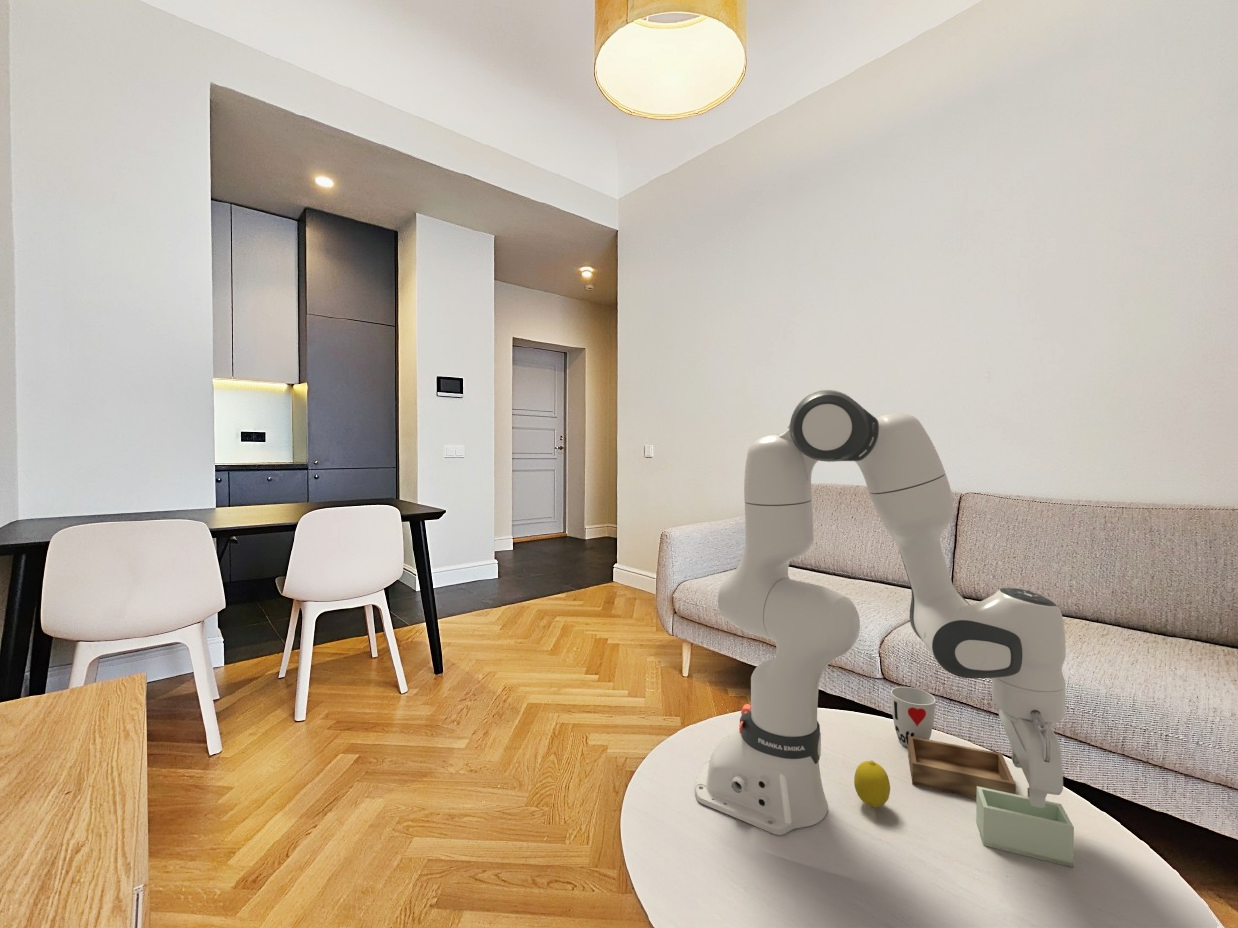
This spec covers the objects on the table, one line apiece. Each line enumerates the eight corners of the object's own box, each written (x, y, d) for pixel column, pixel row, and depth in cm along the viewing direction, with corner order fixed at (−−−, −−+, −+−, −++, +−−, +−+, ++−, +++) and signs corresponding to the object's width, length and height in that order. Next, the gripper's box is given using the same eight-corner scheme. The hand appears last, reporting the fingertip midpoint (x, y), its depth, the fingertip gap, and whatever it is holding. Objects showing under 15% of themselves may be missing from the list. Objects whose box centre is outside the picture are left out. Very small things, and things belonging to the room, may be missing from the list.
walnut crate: (912, 784, 97) (912, 762, 97) (908, 755, 106) (908, 735, 106) (1015, 807, 91) (1015, 784, 90) (1001, 774, 100) (1001, 753, 99)
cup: (884, 742, 111) (884, 695, 110) (899, 728, 116) (899, 682, 116) (927, 758, 105) (927, 708, 104) (940, 743, 110) (941, 695, 110)
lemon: (854, 812, 90) (853, 766, 90) (854, 793, 95) (854, 748, 95) (890, 821, 87) (890, 774, 87) (889, 801, 92) (889, 756, 92)
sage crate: (983, 844, 82) (983, 806, 82) (976, 821, 87) (976, 785, 87) (1073, 867, 78) (1073, 827, 77) (1060, 841, 83) (1061, 803, 82)
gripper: (1078, 737, 70) (1077, 837, 71) (1034, 671, 89) (1034, 751, 90) (1019, 728, 73) (1019, 824, 74) (989, 665, 91) (989, 743, 92)
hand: (1027, 783), depth 82 cm, fingers open, 8 cm apart
